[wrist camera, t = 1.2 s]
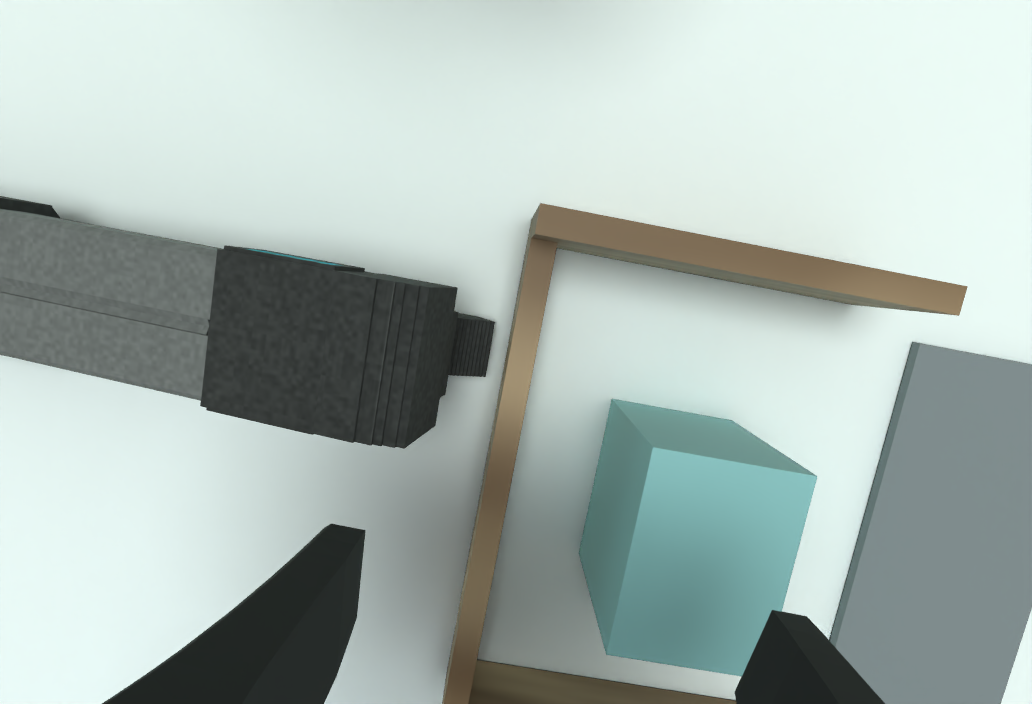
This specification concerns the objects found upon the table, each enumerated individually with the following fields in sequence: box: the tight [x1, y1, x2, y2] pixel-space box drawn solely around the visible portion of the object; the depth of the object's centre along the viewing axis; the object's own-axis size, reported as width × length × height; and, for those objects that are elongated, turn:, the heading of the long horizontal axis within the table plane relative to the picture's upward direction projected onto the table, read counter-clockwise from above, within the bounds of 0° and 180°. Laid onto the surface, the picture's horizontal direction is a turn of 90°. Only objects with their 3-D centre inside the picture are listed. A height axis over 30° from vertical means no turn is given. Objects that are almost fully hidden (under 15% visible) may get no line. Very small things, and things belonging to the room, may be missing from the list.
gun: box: [0, 196, 495, 448], centre depth 19 cm, size 4×20×10 cm, turn 80°
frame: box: [442, 203, 967, 704], centre depth 19 cm, size 17×12×5 cm
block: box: [579, 399, 817, 676], centre depth 19 cm, size 6×4×6 cm
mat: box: [830, 342, 1032, 704], centre depth 22 cm, size 14×7×1 cm, turn 169°
